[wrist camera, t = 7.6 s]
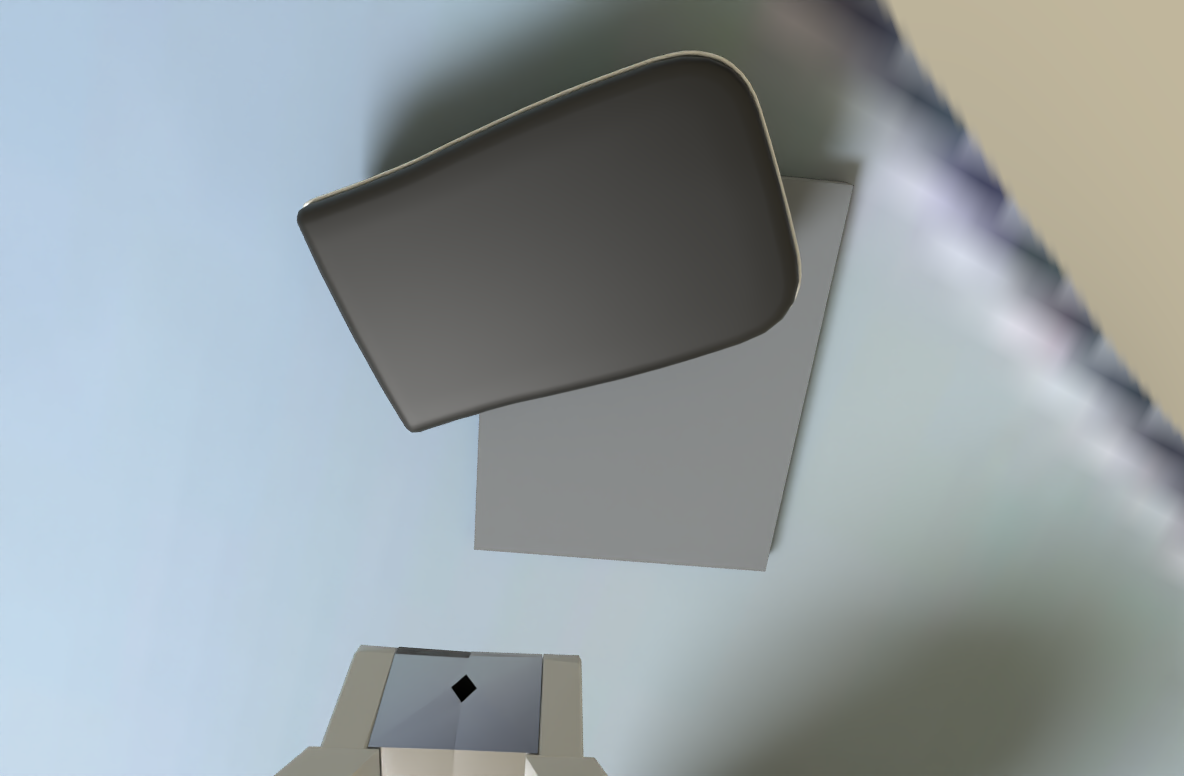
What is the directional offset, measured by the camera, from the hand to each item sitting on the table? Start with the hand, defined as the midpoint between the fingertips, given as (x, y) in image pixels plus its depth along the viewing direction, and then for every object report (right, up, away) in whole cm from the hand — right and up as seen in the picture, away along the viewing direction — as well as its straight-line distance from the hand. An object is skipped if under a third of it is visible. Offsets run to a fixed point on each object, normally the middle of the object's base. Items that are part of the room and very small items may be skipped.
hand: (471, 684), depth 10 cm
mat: (+3, +4, +13) cm, 14 cm away
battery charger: (-5, +6, +11) cm, 13 cm away
